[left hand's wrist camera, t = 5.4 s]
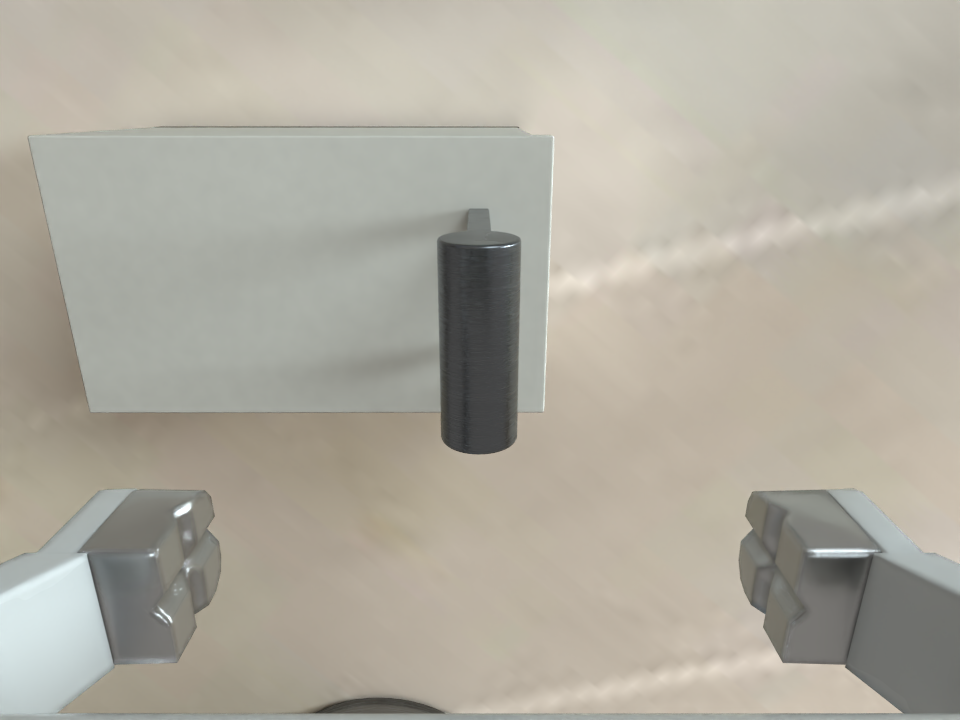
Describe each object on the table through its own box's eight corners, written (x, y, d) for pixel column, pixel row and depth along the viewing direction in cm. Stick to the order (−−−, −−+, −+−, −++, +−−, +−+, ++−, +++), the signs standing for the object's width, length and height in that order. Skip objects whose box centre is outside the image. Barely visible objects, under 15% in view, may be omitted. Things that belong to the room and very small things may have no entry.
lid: (551, 134, 23) (589, 149, 15) (541, 403, 27) (567, 524, 19) (43, 134, 23) (-178, 148, 15) (101, 403, 27) (-53, 525, 19)
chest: (518, 126, 32) (533, 134, 23) (514, 330, 35) (525, 402, 27) (162, 126, 32) (43, 134, 23) (194, 330, 35) (102, 403, 27)
